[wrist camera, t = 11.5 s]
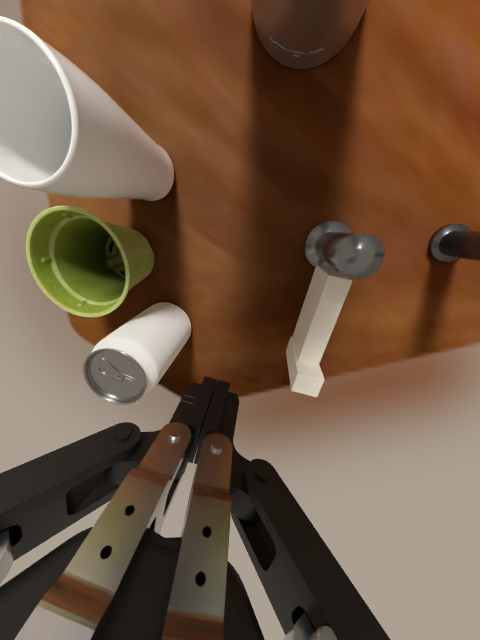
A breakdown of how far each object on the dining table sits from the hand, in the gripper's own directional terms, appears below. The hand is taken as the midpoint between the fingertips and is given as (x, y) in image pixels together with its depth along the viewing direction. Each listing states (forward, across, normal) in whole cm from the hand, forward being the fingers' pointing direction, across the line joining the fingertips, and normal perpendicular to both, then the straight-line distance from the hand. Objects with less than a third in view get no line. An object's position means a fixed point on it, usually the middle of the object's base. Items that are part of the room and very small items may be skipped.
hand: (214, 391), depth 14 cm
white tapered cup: (+17, +13, -11) cm, 24 cm away
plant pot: (+17, +14, -2) cm, 23 cm away
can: (+17, +9, +6) cm, 20 cm away
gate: (+15, -7, -1) cm, 17 cm away
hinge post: (+17, -7, -9) cm, 20 cm away
